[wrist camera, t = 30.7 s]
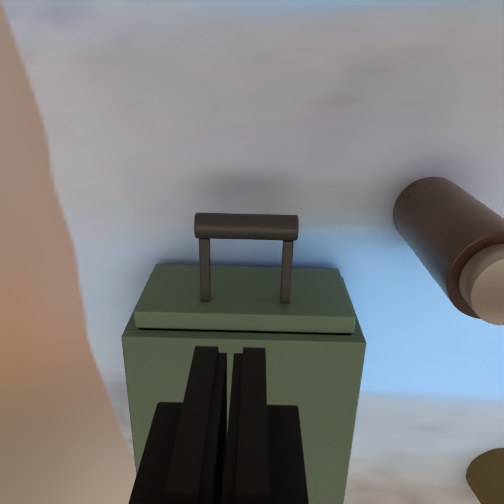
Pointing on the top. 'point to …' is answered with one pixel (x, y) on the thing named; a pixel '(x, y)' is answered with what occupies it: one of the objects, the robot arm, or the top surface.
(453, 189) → the pepper mill
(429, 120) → the top surface
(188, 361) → the cabinet
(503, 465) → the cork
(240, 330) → the drawer
